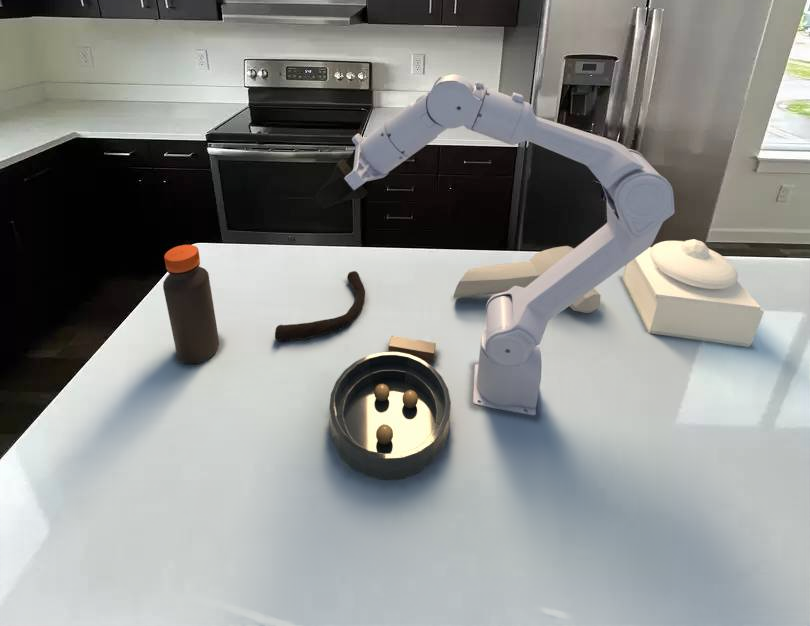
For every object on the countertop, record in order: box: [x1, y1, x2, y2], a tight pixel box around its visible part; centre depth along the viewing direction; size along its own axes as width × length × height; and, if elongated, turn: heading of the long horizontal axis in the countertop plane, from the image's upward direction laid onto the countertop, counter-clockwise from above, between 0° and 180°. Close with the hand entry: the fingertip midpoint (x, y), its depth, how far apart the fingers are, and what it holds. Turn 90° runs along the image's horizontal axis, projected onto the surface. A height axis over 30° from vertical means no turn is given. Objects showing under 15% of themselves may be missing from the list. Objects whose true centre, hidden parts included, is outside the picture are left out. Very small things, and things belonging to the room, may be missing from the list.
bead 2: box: [376, 424, 393, 445], centre depth 60 cm, size 2×2×2 cm
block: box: [388, 335, 437, 363], centre depth 75 cm, size 8×2×2 cm, turn 79°
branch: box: [274, 270, 366, 343], centre depth 84 cm, size 23×10×3 cm, turn 147°
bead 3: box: [402, 390, 418, 408], centre depth 65 cm, size 2×2×2 cm
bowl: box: [328, 351, 452, 481], centre depth 63 cm, size 17×17×4 cm
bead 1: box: [374, 384, 390, 401], centre depth 66 cm, size 2×2×2 cm
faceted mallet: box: [453, 245, 601, 314], centre depth 89 cm, size 30×14×11 cm, turn 88°
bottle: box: [162, 244, 220, 365], centre depth 72 cm, size 7×7×20 cm
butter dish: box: [621, 238, 765, 348], centre depth 86 cm, size 18×18×16 cm
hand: (329, 191), depth 63 cm, fingers open, 7 cm apart
